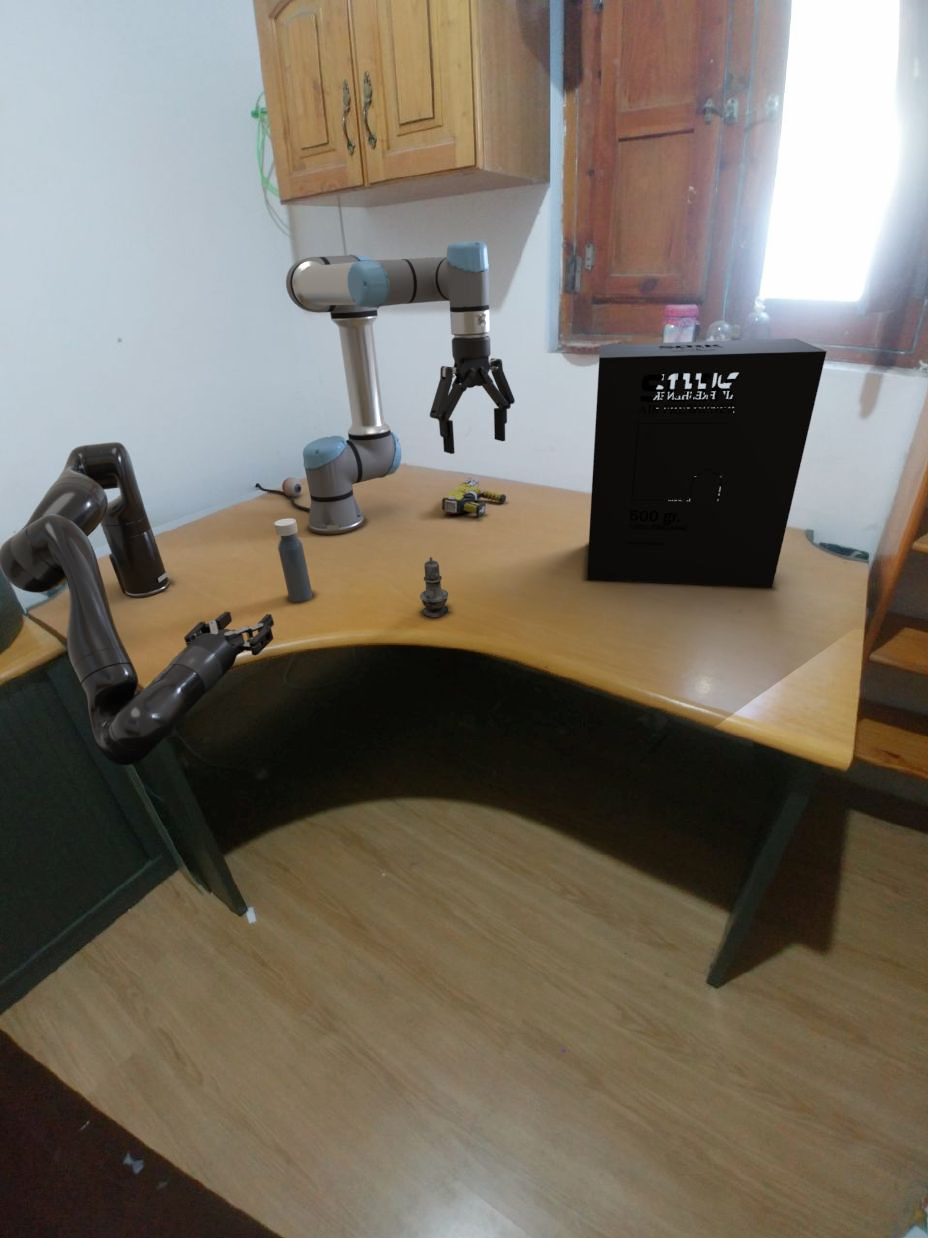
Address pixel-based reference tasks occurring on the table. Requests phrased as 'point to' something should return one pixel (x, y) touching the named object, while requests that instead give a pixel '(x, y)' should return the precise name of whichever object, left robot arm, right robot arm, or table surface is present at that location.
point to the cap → (286, 527)
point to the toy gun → (468, 499)
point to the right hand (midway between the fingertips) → (475, 446)
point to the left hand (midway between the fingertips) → (249, 617)
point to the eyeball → (292, 487)
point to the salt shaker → (433, 591)
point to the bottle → (294, 568)
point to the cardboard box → (698, 459)
